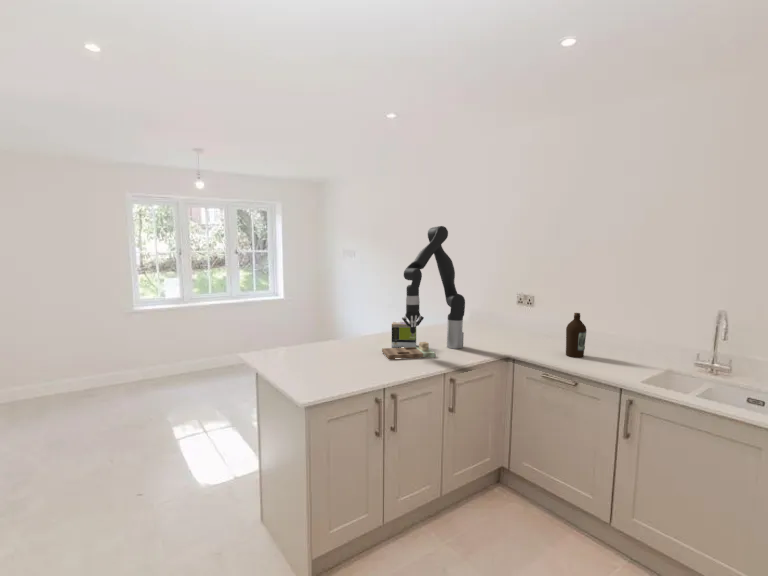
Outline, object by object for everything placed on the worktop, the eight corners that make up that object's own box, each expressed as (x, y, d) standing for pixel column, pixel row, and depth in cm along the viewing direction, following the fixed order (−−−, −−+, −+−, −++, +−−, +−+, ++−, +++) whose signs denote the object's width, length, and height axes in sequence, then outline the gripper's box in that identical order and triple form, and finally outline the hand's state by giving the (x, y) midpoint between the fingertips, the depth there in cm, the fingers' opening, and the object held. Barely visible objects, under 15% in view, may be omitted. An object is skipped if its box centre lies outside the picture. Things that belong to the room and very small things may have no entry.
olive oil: (560, 354, 246) (563, 312, 243) (571, 352, 252) (574, 311, 249) (577, 359, 237) (580, 315, 234) (588, 356, 243) (591, 313, 240)
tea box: (416, 344, 266) (416, 321, 264) (415, 348, 256) (416, 324, 254) (392, 343, 267) (392, 320, 266) (391, 347, 257) (391, 323, 256)
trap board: (426, 350, 251) (426, 346, 251) (435, 357, 237) (435, 352, 237) (382, 352, 245) (382, 348, 245) (388, 359, 230) (388, 355, 230)
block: (425, 348, 246) (425, 341, 246) (428, 350, 243) (428, 343, 242) (419, 349, 245) (419, 342, 244) (422, 350, 241) (422, 343, 241)
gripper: (421, 301, 245) (421, 331, 247) (399, 302, 241) (399, 332, 243) (426, 303, 237) (426, 333, 239) (403, 304, 234) (403, 335, 236)
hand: (412, 333), depth 241 cm, fingers closed
